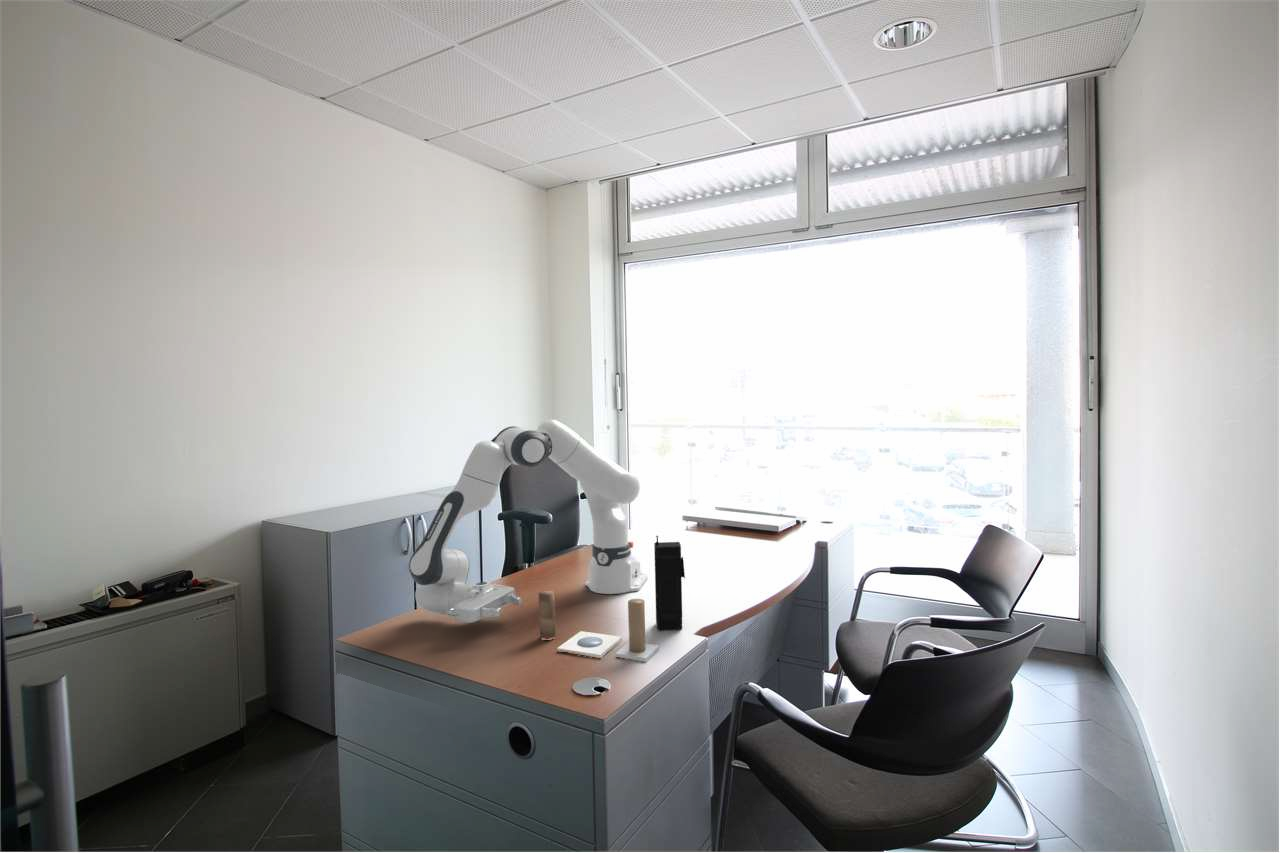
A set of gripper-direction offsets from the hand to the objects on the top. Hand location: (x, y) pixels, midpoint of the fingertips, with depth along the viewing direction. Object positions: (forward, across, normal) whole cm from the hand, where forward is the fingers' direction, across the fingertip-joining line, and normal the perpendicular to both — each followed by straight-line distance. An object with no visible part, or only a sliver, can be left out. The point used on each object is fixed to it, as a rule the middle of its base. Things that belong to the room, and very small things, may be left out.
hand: (509, 606), depth 182 cm
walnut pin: (+12, 0, +7) cm, 14 cm away
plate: (+25, -1, +7) cm, 26 cm away
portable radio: (+39, +19, +7) cm, 44 cm away
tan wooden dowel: (+38, -1, +7) cm, 38 cm away
